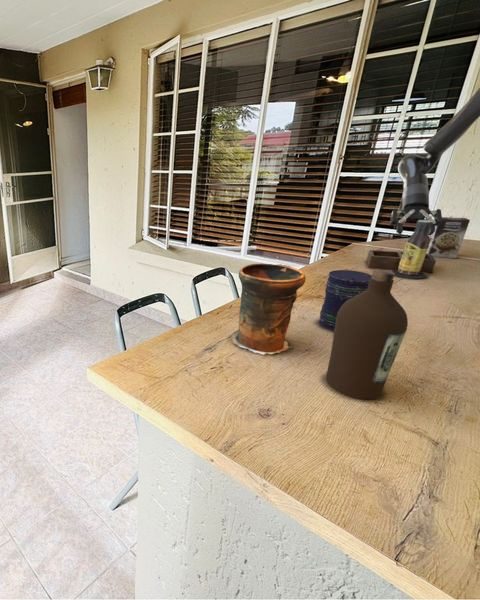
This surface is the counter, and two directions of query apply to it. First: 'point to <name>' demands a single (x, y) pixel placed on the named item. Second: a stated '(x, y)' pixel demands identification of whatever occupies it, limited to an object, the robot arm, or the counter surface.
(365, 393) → the olive oil
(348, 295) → the storage jar
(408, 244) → the sauce bottle
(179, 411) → the counter surface
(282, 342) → the vessel
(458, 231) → the cookie box
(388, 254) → the tray
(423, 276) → the coaster
